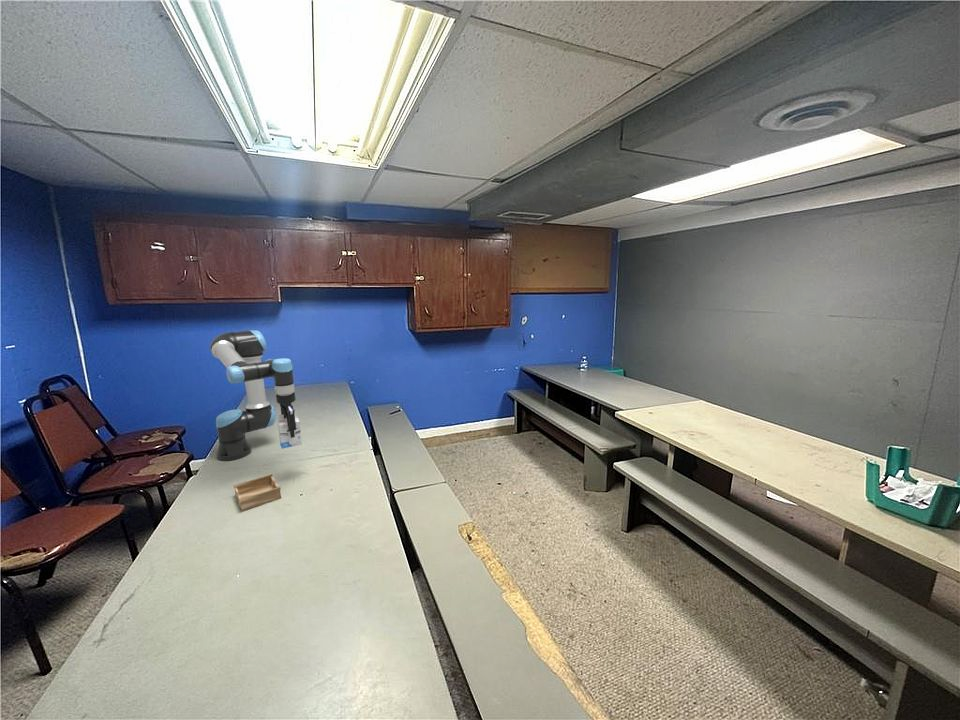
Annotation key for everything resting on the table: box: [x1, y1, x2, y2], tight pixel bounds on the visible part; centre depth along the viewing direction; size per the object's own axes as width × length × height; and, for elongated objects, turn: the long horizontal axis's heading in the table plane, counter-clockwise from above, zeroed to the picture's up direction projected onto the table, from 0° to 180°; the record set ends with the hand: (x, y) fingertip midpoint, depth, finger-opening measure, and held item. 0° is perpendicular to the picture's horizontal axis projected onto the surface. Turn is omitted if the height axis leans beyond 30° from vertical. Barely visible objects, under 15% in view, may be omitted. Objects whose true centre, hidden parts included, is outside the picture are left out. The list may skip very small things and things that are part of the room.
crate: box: [233, 473, 282, 513], centre depth 157 cm, size 15×15×5 cm
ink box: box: [277, 411, 303, 449], centre depth 168 cm, size 8×5×15 cm, turn 125°
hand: (290, 441), depth 169 cm, fingers closed on ink box, 5 cm apart
